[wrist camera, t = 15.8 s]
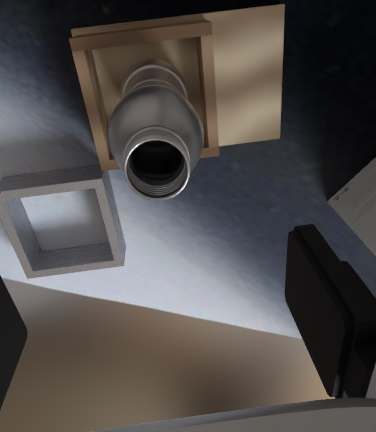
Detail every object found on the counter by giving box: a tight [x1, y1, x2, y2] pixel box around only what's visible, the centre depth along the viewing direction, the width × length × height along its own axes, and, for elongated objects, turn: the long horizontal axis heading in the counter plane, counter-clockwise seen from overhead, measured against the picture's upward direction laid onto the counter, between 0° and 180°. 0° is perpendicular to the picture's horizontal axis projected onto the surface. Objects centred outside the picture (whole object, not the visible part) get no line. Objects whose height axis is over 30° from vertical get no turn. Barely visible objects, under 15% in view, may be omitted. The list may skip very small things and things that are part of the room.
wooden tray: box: [69, 4, 285, 171], centre depth 35 cm, size 13×20×6 cm, turn 96°
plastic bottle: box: [108, 59, 204, 201], centre depth 27 cm, size 6×7×20 cm
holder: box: [0, 165, 126, 279], centre depth 42 cm, size 12×12×4 cm
